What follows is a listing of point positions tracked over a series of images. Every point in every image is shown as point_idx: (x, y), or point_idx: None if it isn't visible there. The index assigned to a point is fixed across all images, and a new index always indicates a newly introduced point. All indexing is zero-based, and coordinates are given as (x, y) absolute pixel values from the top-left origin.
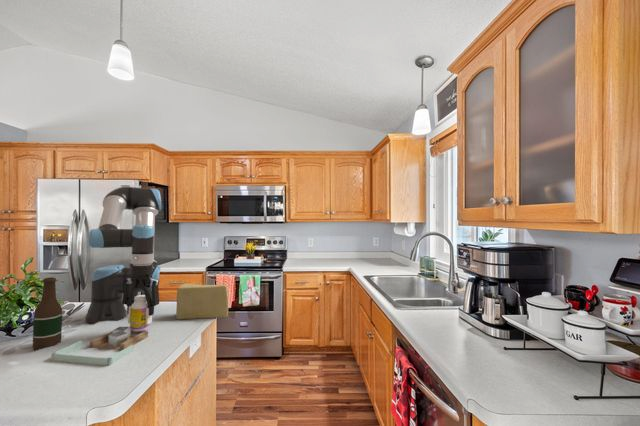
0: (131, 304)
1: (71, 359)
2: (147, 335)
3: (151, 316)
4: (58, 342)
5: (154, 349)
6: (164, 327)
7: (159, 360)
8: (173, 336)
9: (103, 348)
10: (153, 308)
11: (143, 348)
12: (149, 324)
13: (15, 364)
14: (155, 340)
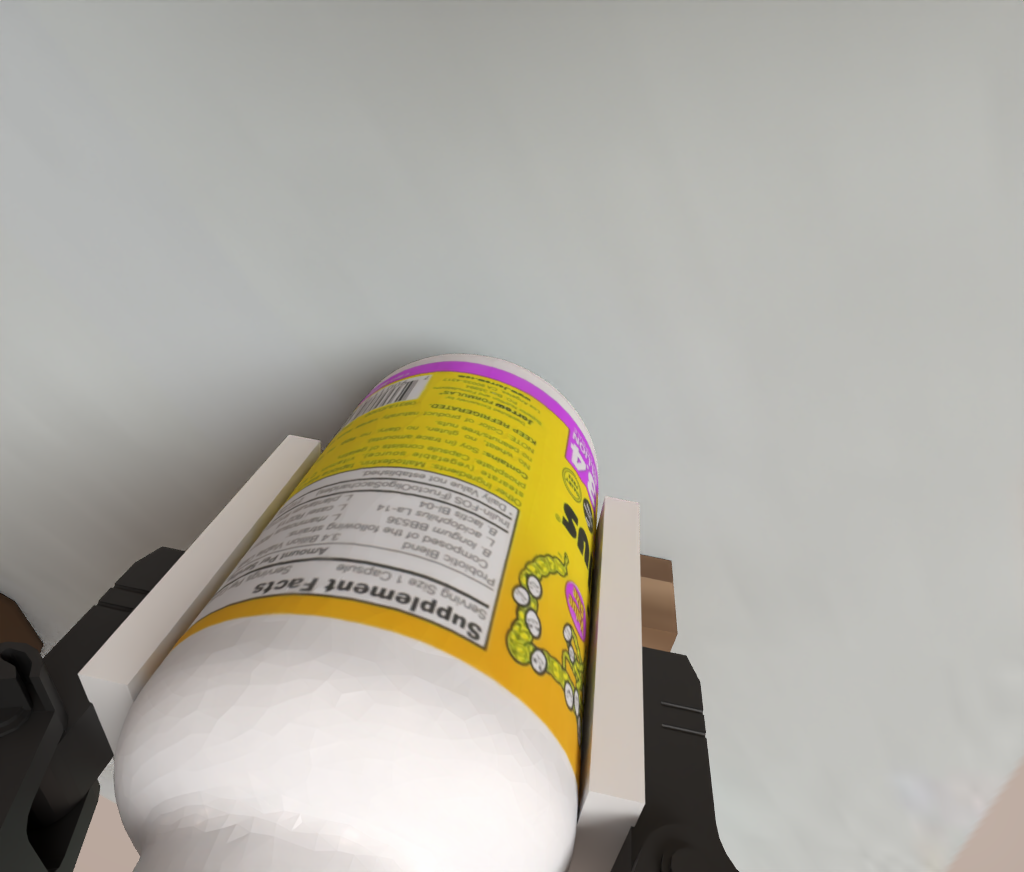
0: (81, 756)
1: None
2: (671, 603)
3: (636, 597)
4: (5, 641)
5: (827, 739)
6: (745, 129)
7: (919, 866)
8: (981, 498)
9: None
10: (706, 811)
11: (716, 714)
12: (591, 459)
13: (99, 776)
14: (770, 585)
